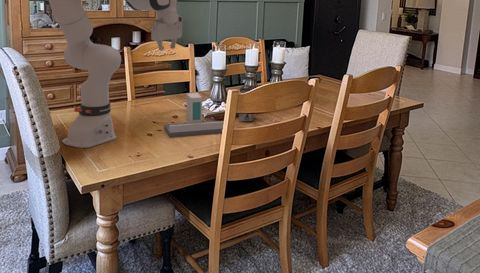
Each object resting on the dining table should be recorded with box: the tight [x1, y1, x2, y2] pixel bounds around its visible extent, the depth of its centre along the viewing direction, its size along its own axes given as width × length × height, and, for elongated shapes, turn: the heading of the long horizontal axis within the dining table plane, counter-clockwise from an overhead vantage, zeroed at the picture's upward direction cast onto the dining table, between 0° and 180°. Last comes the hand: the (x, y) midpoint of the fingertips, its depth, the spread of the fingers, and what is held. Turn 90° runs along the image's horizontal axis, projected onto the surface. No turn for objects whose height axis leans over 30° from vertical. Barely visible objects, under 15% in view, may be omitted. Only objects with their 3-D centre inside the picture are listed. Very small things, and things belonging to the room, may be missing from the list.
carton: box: [186, 92, 203, 124], centre depth 220 cm, size 5×8×14 cm, turn 20°
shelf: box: [163, 120, 225, 138], centre depth 222 cm, size 25×12×5 cm, turn 110°
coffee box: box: [238, 84, 257, 122], centre depth 239 cm, size 9×6×16 cm
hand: (167, 49), depth 227 cm, fingers open, 8 cm apart
